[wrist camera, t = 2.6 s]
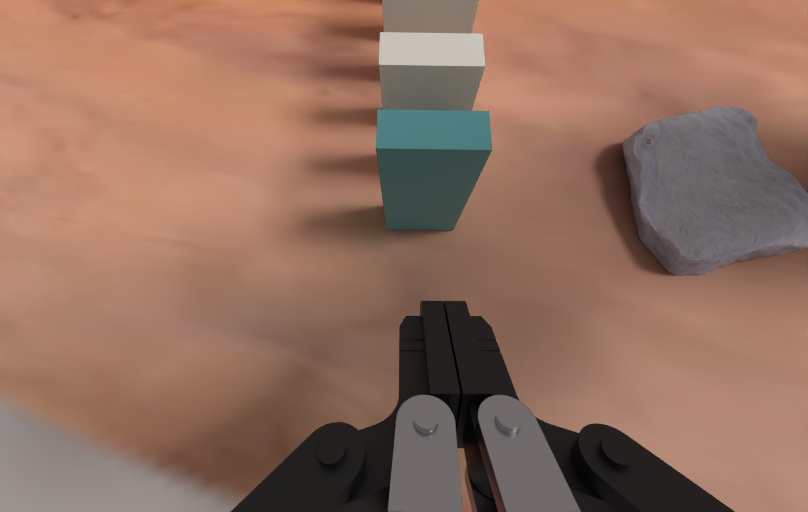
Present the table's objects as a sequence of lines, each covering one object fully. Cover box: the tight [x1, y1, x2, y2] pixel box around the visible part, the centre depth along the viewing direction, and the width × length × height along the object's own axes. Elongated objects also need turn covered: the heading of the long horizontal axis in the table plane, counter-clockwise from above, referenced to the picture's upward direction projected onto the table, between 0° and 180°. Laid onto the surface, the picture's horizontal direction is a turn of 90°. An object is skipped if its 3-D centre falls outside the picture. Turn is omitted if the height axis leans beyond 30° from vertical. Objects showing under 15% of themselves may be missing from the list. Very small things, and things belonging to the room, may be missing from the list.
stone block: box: [623, 107, 808, 276], centre depth 22 cm, size 12×5×10 cm
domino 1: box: [382, 0, 479, 34], centre depth 20 cm, size 2×5×10 cm, turn 89°
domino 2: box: [379, 32, 485, 111], centre depth 19 cm, size 2×5×10 cm, turn 90°
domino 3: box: [376, 109, 492, 230], centre depth 18 cm, size 2×5×10 cm, turn 90°
